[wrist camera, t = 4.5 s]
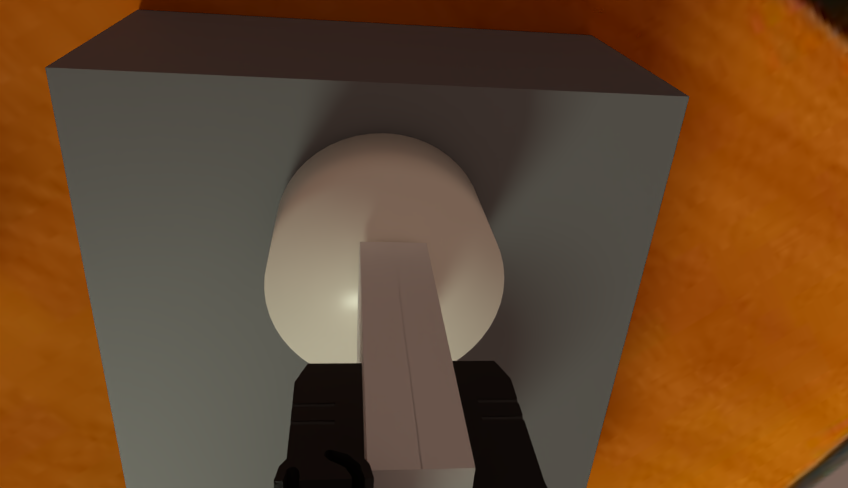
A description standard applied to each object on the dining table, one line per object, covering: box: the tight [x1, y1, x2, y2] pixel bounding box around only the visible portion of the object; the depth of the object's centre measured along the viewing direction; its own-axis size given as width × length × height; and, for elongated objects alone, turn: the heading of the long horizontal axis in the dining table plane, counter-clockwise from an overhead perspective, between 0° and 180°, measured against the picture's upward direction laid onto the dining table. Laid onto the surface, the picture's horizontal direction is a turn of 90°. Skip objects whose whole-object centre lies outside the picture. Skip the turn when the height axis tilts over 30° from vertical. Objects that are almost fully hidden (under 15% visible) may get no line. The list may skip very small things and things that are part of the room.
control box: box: [45, 10, 689, 488], centre depth 27 cm, size 16×28×8 cm, turn 176°
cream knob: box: [264, 133, 504, 363], centre depth 19 cm, size 6×6×8 cm
